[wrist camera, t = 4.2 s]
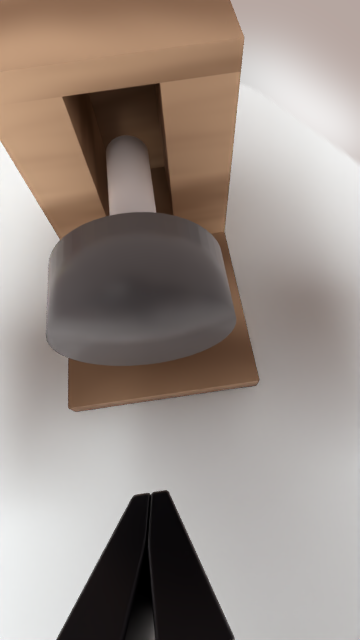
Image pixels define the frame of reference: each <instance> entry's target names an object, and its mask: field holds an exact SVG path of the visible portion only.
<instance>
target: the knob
mask: <svg viewBox="0 0 360 640" xmlns="http://www.w3.org/2000/svg"><path fill="white" fill-rule="evenodd" d="M106 163H107V179H108V196H109V213H110V216H106V217H102V218H99V219H95V220H93V221H90V222H88V223H85V224H83V225H81V226H79V227H77V228H76V229H74V230H72V231H71V232H69V233H68V234H67V235H65V236H64V237H63V238H62V239H61V240H60V241H59V242H58V243H57V244H56V246H55V247H54V249H53V251H52V253H51V255H50V258H49V267H48V297H47V326H46V338H47V342H48V343H49V345H50V346H51V347H52V348H53V349H54V350H55V351H56V352H58V353H59V354H61V355H63V356H65V357H68V358H70V359H73V360H77V361H80V362H85V363H90V364H97V365H108V366H135V365H147V364H155V363H161V362H167V361H172V360H176V359H180V358H184V357H187V356H191V355H194V354H196V353H199V352H202V351H204V350H206V349H208V348H210V347H212V346H214V345H216V344H218V343H219V342H221V341H222V340H224V339H225V338H226V337H227V336H228V335H229V334H230V333H231V332H232V330H233V329H234V327H235V325H236V315H235V310H234V306H233V301H232V297H231V292H230V288H229V283H228V279H227V275H226V270H225V266H224V261H223V257H222V252H221V248H220V246H219V244H218V242H217V240H216V239H215V238H214V237H213V235H212V234H211V233H209V232H208V231H207V230H206V229H205V228H203V227H201V226H200V225H198V224H196V223H194V222H192V221H190V220H187V219H184V218H181V217H178V216H174V215H169V214H164V213H156V207H155V200H154V193H153V185H152V178H151V170H150V163H149V155H148V150H147V147H146V145H145V144H144V143H143V142H142V141H141V140H140V139H138V138H136V137H134V136H129V135H124V136H119V137H117V138H115V139H113V140H112V141H111V142H110V143H109V144H108V146H107V149H106Z"/></svg>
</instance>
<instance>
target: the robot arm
mask: <svg viewBox="0 0 360 640" xmlns="http://www.w3.org/2000/svg"><path fill="white" fill-rule="evenodd" d="M56 640H235V639H234V635H233V633H232V631H231V629H230V626H229V624H228V622H227V620H226V618H225V615H224V613H223V611H222V609H221V607H220V604H219V602H218V600H217V598H216V595H215V593H214V591H213V589H212V587H211V584H210V582H209V580H208V578H207V575H206V573H205V571H204V569H203V567H202V564H201V562H200V560H199V558H198V555H197V553H196V551H195V549H194V547H193V544H192V542H191V540H190V538H189V536H188V533H187V531H186V529H185V527H184V524H183V522H182V520H181V518H180V516H179V513H178V511H177V509H176V507H175V504H174V502H173V500H172V498H171V496H170V493H169V492H168V491H167V490H164V491H157V492H153V493H152V494H150V493H144V494H137V495H134V496H133V497H132V499H131V501H130V502H129V504H128V506H127V508H126V510H125V512H124V514H123V516H122V517H121V519H120V521H119V523H118V525H117V527H116V529H115V531H114V532H113V534H112V536H111V538H110V540H109V542H108V544H107V545H106V547H105V549H104V551H103V553H102V555H101V557H100V559H99V560H98V562H97V564H96V566H95V568H94V570H93V572H92V574H91V575H90V577H89V579H88V581H87V583H86V585H85V587H84V589H83V590H82V592H81V594H80V596H79V598H78V600H77V602H76V604H75V605H74V607H73V609H72V611H71V613H70V615H69V617H68V619H67V620H66V622H65V624H64V626H63V628H62V630H61V632H60V634H59V635H58V637H57V639H56Z"/></svg>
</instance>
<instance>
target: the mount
mask: <svg viewBox="0 0 360 640" xmlns="http://www.w3.org/2000/svg"><path fill="white" fill-rule="evenodd" d="M243 45H244V35H243V33H242V30H241V28H240V25H239V22H238V20H237V17H236V14H235V12H234V9H233V7H232V4H231V1H230V0H0V141H1V142H2V144H3V146H4V147H5V149H6V151H7V152H8V154H9V156H10V157H11V159H12V161H13V162H14V164H15V166H16V167H17V169H18V171H19V172H20V174H21V176H22V177H23V179H24V181H25V182H26V184H27V185H28V187H29V189H30V190H31V192H32V194H33V195H34V197H35V199H36V200H37V202H38V204H39V205H40V207H41V209H42V210H43V212H44V214H45V215H46V217H47V219H48V220H49V222H50V224H51V225H52V227H53V229H54V230H55V232H56V234H57V235H58V237H59V238H60V240H61V239H62V238H63V237H64V236H65V235H67V234H68V233H69V232H71V231H72V230H74V229H76V228H77V227H79V226H81V225H83V224H85V223H88V222H90V221H93V220H95V219H99V218H102V217H106V216H110V213H109V196H108V179H107V163H106V149H107V146H108V144H109V143H110V142H111V141H112V140H113V139H115V138H117V137H119V136H124V135H129V136H134V137H136V138H138V139H140V140H141V141H142V142H143V143H144V144H145V145H146V147H147V150H148V155H149V163H150V170H151V178H152V185H153V193H154V200H155V207H156V213H164V214H169V215H174V216H178V217H181V218H184V219H187V220H190V221H192V222H194V223H196V224H198V225H200V226H201V227H203V228H205V229H206V230H207V231H208V232H209V233H211V234H212V235H213V237H214V238H215V239H216V240H217V242H218V244H219V246H220V248H221V252H222V257H223V261H224V266H225V270H226V275H227V279H228V283H229V288H230V292H231V297H232V301H233V306H234V310H235V315H236V325H235V327H234V329H233V330H232V332H231V333H230V334H229V335H228V336H227V337H226V338H225V339H224V340H222V341H221V342H219V343H218V344H216V345H214V346H212V347H210V348H208V349H206V350H204V351H202V352H199V353H196V354H194V355H191V356H187V357H184V358H180V359H176V360H172V361H167V362H161V363H155V364H147V365H135V366H108V365H97V364H90V363H85V362H80V361H77V360H73V359H70V358H68V408H69V409H71V410H73V411H75V412H77V411H84V410H91V409H98V408H105V407H112V406H118V405H125V404H132V403H139V402H146V401H153V400H159V399H166V398H173V397H180V396H187V395H194V394H201V393H207V392H214V391H221V390H228V389H235V388H242V387H248V386H255V385H257V383H258V382H259V376H258V372H257V368H256V364H255V359H254V355H253V351H252V347H251V342H250V338H249V334H248V330H247V326H246V321H245V317H244V313H243V309H242V304H241V300H240V296H239V292H238V287H237V283H236V279H235V275H234V270H233V266H232V262H231V258H230V254H229V249H228V245H227V241H226V237H225V232H224V230H225V221H226V211H227V201H228V191H229V182H230V172H231V162H232V152H233V143H234V133H235V123H236V113H237V104H238V94H239V84H240V74H241V64H242V55H243Z"/></svg>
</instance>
